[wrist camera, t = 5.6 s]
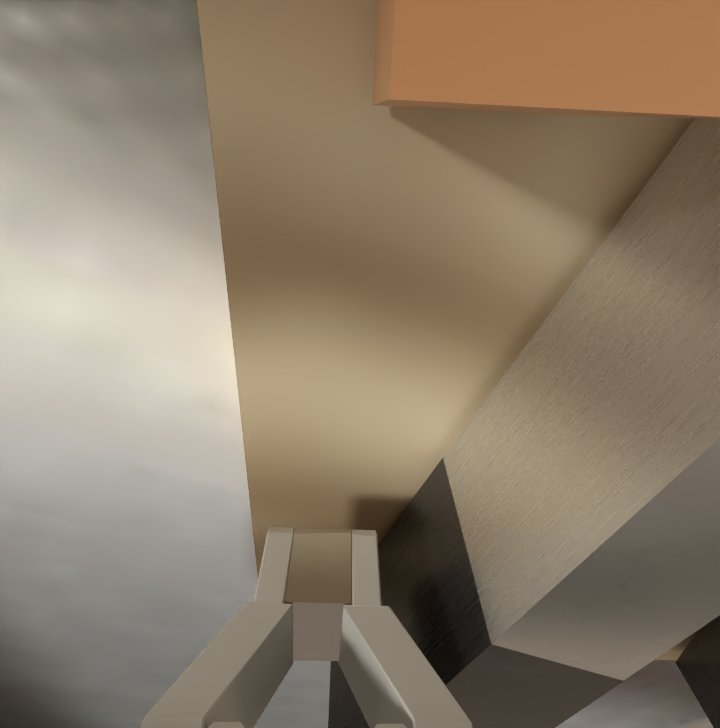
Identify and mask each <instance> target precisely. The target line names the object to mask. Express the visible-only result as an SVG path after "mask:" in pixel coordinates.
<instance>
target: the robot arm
mask: <svg viewBox="0 0 720 728" xmlns="http://www.w3.org/2000/svg"><path fill="white" fill-rule="evenodd" d="M293 660H322V661H339V665H340V667H341V669H342V671H343V673H344V676H345V678H346V680H347V682H348V684H349V686H350V688H351V690H352V692H353V694H354V696H355V698H356V701H357V703H358V705H359V707H360V709H361V711H362V713H363V715H364V717H365V719H366V721H367V723H368V726H369V728H472V723H471V721H470V720H469V718H468V717H467V716H466V714H465V713H464V711H463V710H462V708H461V707H460V706H459V704H458V703H457V701H456V700H455V699H454V697H453V696H452V694H451V693H450V691H449V690H448V689H447V687H446V686H445V684H444V683H443V682H442V680H441V679H440V677H439V676H438V674H437V673H436V672H435V670H434V669H433V667H432V666H431V665H430V663H429V662H428V660H427V659H426V657H425V656H424V655H423V653H422V652H421V650H420V649H419V648H418V646H417V645H416V643H415V642H414V640H413V639H412V638H411V636H410V635H409V633H408V632H407V630H406V629H405V628H404V626H403V625H402V623H401V622H400V621H399V619H398V618H397V616H396V615H395V613H394V612H393V611H392V609H391V608H390V606H382V603H381V587H380V572H379V557H378V541H377V533H376V531H375V530H351V529H324V528H293V527H270V528H269V530H268V533H267V537H266V542H265V547H264V552H263V557H262V562H261V567H260V572H259V577H258V582H257V587H256V592H255V597H254V602H253V603H245V604H244V605H243V606H242V607H241V609H240V610H239V611H238V612H237V613H236V614H235V615H234V616H233V618H232V619H231V620H230V621H229V622H228V623H227V624H226V625H225V627H224V628H223V629H222V630H221V631H220V632H219V633H218V634H217V636H216V637H215V638H214V639H213V640H212V641H211V642H210V643H209V645H208V646H207V647H206V648H205V649H204V650H203V651H202V652H201V654H200V655H199V656H198V657H197V658H196V659H195V660H194V662H193V663H192V664H191V665H190V666H189V667H188V668H187V669H186V671H185V672H184V673H183V674H182V675H181V676H180V677H179V678H178V680H177V681H176V682H175V683H174V684H173V685H172V686H171V687H170V689H169V690H168V691H167V692H166V693H165V694H164V695H163V696H162V698H161V699H160V700H159V701H158V702H157V703H156V704H155V705H154V707H153V708H152V709H151V710H150V711H149V712H148V713H147V715H146V716H145V717H144V718H143V721H142V724H141V727H140V728H253V727H254V725H255V724H256V722H257V720H258V719H259V717H260V716H261V714H262V712H263V711H264V709H265V708H266V706H267V704H268V703H269V701H270V700H271V698H272V696H273V695H274V693H275V691H276V690H277V688H278V687H279V685H280V683H281V682H282V680H283V679H284V677H285V675H286V674H287V672H288V671H289V669H290V667H291V666H292V664H293Z"/></svg>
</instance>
